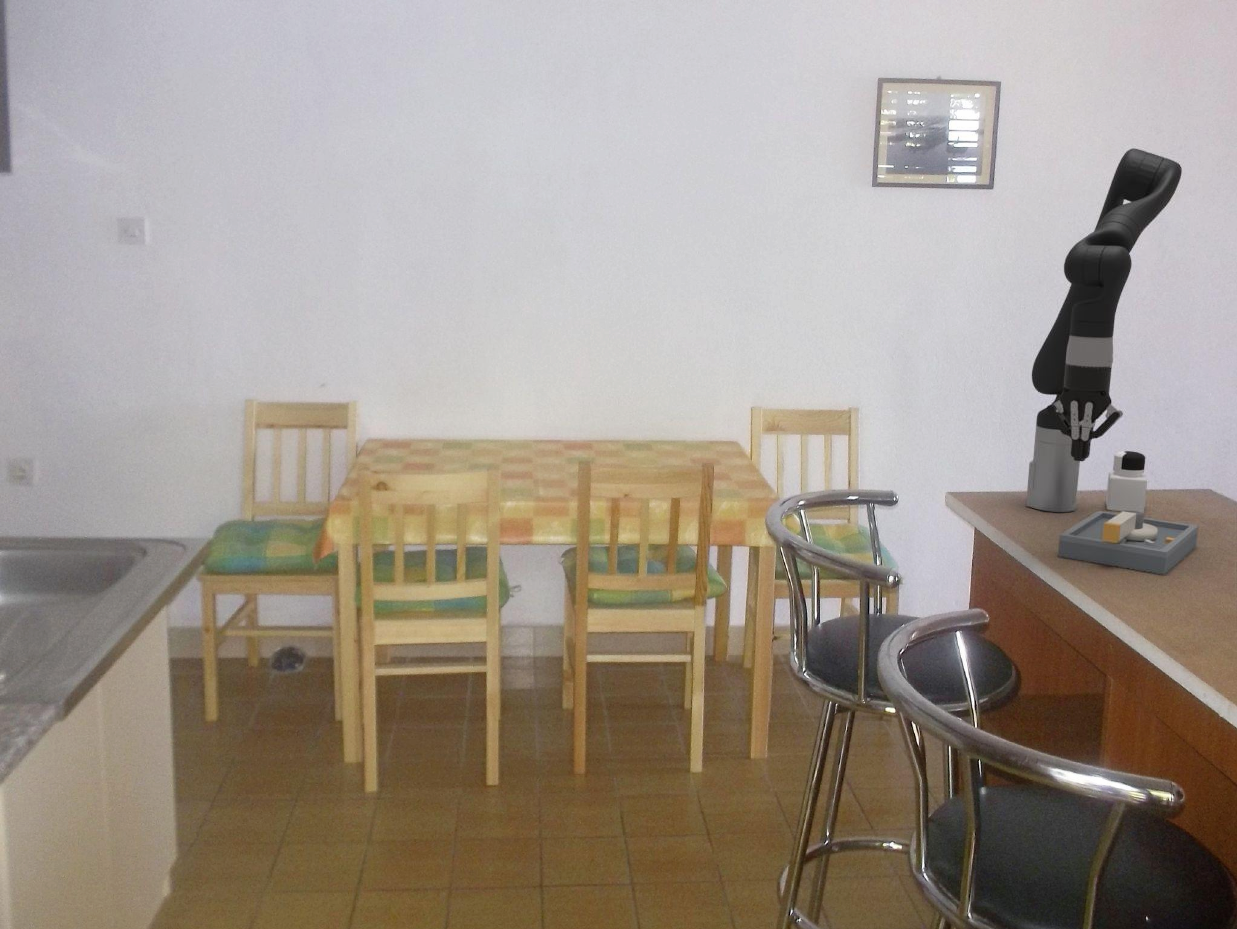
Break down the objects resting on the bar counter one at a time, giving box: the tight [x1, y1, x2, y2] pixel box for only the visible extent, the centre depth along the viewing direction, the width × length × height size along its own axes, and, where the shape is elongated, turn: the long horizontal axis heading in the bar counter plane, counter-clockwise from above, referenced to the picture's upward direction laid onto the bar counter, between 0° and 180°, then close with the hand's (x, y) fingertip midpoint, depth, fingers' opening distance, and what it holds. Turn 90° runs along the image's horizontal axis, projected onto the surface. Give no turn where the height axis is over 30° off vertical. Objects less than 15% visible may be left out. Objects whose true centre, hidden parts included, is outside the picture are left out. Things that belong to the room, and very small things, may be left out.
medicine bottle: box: [1105, 450, 1148, 514], centre depth 257 cm, size 7×7×12 cm
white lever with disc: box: [1102, 511, 1158, 543], centre depth 220 cm, size 18×9×5 cm, turn 143°
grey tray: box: [1057, 510, 1199, 576], centre depth 224 cm, size 18×24×4 cm
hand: (1079, 460), depth 216 cm, fingers closed
